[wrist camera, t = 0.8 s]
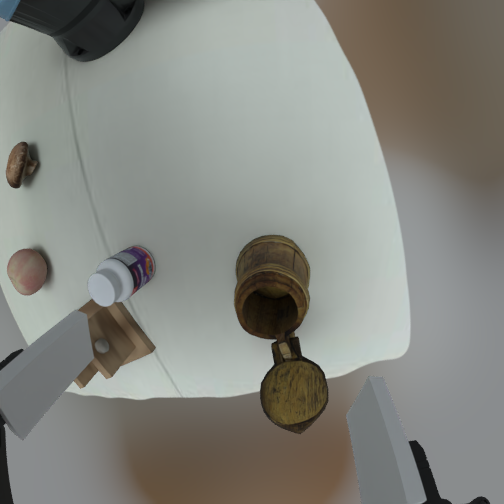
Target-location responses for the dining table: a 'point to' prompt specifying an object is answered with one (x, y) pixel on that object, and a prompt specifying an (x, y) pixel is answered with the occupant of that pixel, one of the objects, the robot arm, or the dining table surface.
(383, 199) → the dining table surface
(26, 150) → the mushroom
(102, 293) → the pill bottle
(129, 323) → the holder
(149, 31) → the dining table surface
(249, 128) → the dining table surface
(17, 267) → the apple
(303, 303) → the wooden mug
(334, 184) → the dining table surface
